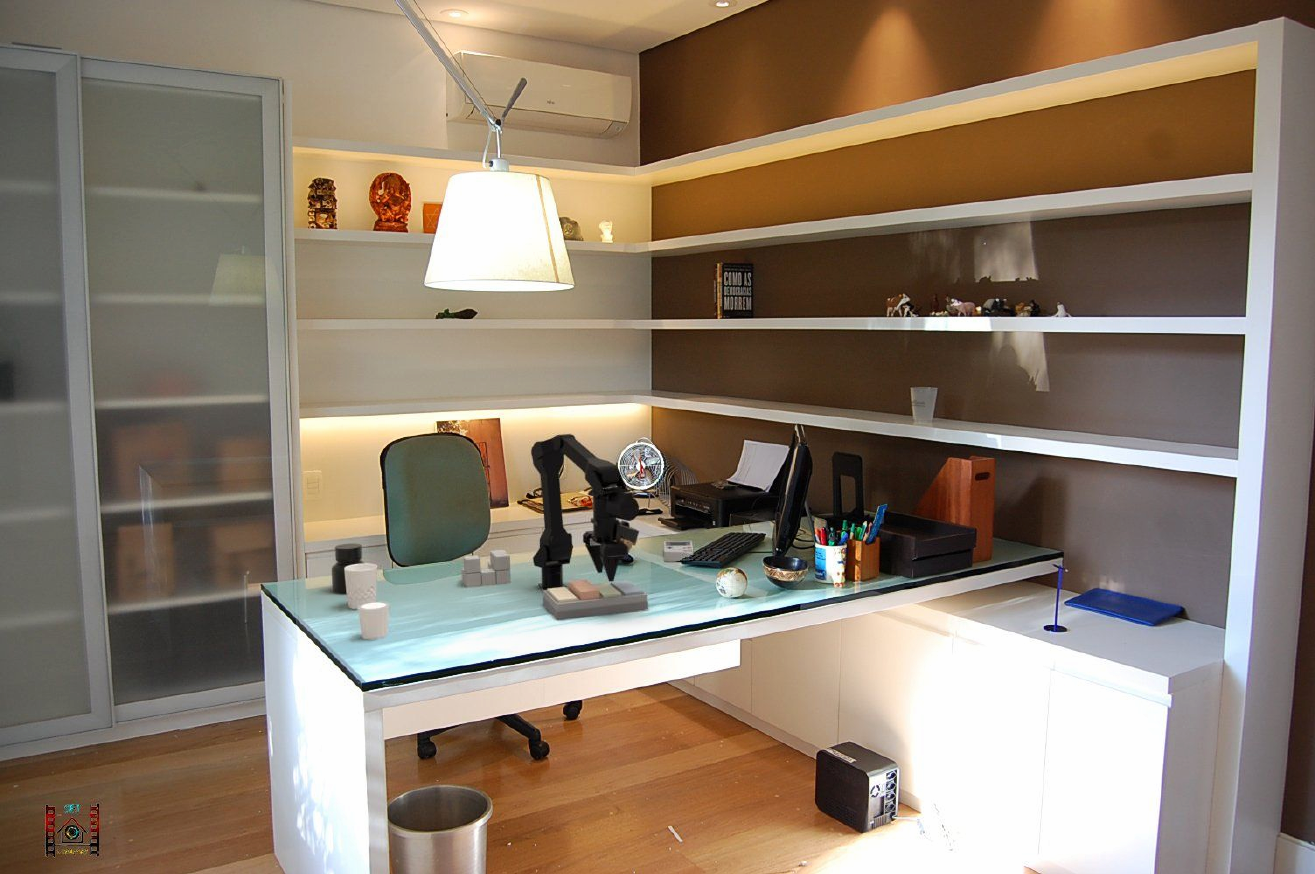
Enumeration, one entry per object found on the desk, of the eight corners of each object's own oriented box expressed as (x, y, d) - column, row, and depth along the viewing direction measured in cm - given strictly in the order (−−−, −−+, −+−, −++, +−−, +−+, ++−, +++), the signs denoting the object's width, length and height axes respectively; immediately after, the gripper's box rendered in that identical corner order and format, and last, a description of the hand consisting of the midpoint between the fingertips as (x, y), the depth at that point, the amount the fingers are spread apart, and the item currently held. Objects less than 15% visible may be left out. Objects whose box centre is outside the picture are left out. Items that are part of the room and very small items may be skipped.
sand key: (547, 598, 239) (547, 588, 239) (565, 596, 241) (565, 586, 241) (558, 609, 229) (558, 599, 229) (577, 607, 231) (577, 597, 231)
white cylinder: (362, 631, 220) (361, 601, 220) (393, 630, 221) (392, 600, 220) (355, 640, 214) (354, 610, 213) (387, 639, 214) (386, 609, 213)
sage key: (590, 593, 243) (590, 584, 243) (607, 591, 245) (607, 582, 245) (603, 604, 233) (603, 595, 233) (621, 602, 235) (621, 593, 234)
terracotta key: (568, 590, 241) (568, 581, 241) (586, 588, 243) (586, 579, 243) (581, 601, 231) (581, 592, 231) (599, 599, 233) (599, 590, 232)
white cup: (384, 603, 243) (383, 564, 242) (366, 611, 236) (364, 571, 235) (358, 600, 246) (357, 562, 245) (339, 608, 239) (337, 569, 238)
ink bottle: (375, 588, 258) (374, 544, 257) (352, 596, 250) (350, 551, 249) (347, 584, 262) (346, 541, 261) (324, 592, 254) (322, 547, 253)
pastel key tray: (543, 604, 241) (542, 590, 240) (629, 595, 249) (629, 581, 248) (557, 620, 228) (557, 604, 227) (647, 609, 236) (647, 594, 235)
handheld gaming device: (663, 563, 285) (664, 550, 285) (663, 552, 300) (663, 540, 299) (693, 563, 285) (693, 551, 285) (691, 552, 300) (692, 540, 299)
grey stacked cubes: (501, 573, 273) (500, 546, 272) (510, 583, 262) (509, 555, 261) (459, 577, 269) (458, 550, 268) (466, 588, 258) (465, 559, 257)
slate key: (611, 591, 245) (611, 582, 245) (628, 589, 247) (628, 580, 247) (625, 602, 235) (625, 592, 235) (642, 600, 237) (642, 590, 236)
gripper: (648, 519, 231) (648, 582, 233) (623, 506, 248) (623, 565, 250) (604, 522, 227) (605, 587, 229) (582, 509, 244) (582, 569, 246)
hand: (605, 576), depth 238 cm, fingers open, 9 cm apart
